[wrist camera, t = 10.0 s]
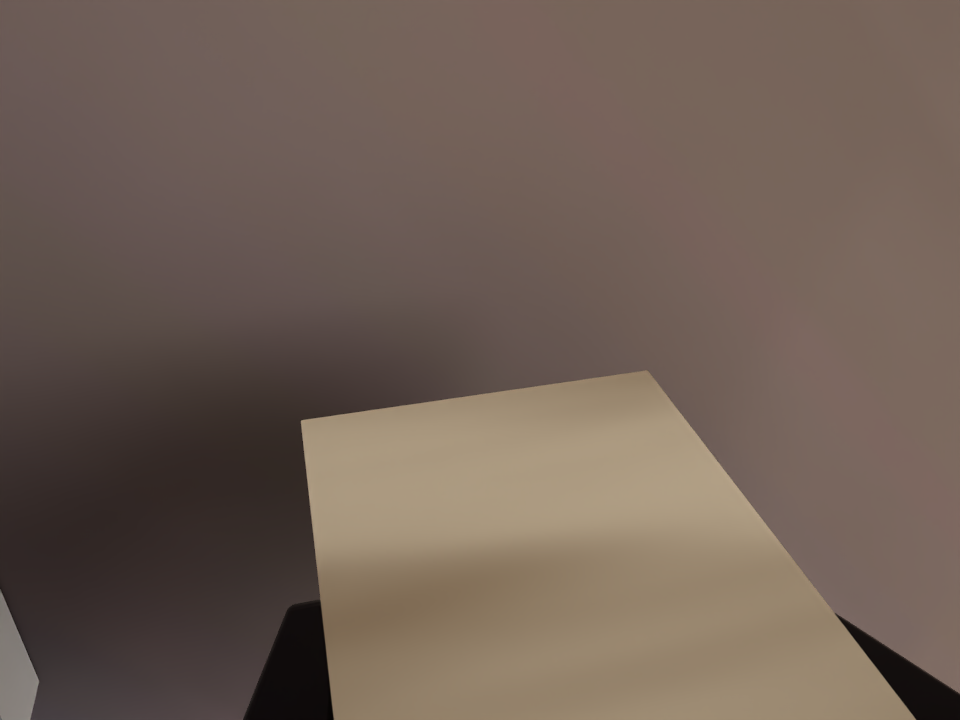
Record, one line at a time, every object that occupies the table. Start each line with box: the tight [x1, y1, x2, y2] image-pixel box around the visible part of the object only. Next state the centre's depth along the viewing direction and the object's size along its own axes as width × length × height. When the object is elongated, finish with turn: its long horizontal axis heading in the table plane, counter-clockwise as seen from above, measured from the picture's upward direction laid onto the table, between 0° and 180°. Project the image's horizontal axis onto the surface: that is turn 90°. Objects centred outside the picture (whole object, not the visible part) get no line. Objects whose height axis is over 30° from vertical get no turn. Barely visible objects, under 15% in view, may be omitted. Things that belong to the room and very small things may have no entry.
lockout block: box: [301, 370, 916, 720], centre depth 8 cm, size 4×4×5 cm
